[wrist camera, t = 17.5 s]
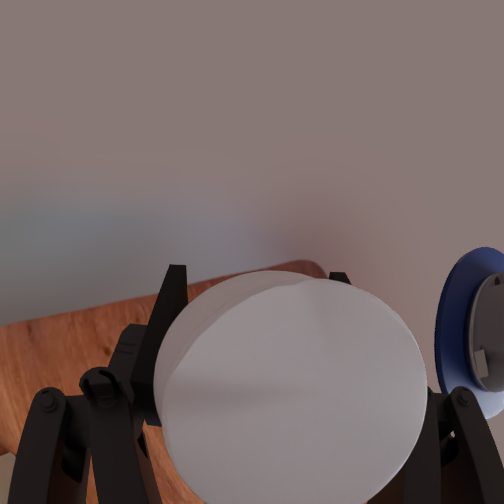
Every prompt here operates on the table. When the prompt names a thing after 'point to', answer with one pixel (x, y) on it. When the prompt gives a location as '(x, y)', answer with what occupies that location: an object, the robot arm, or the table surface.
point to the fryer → (6, 475)
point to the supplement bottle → (289, 391)
